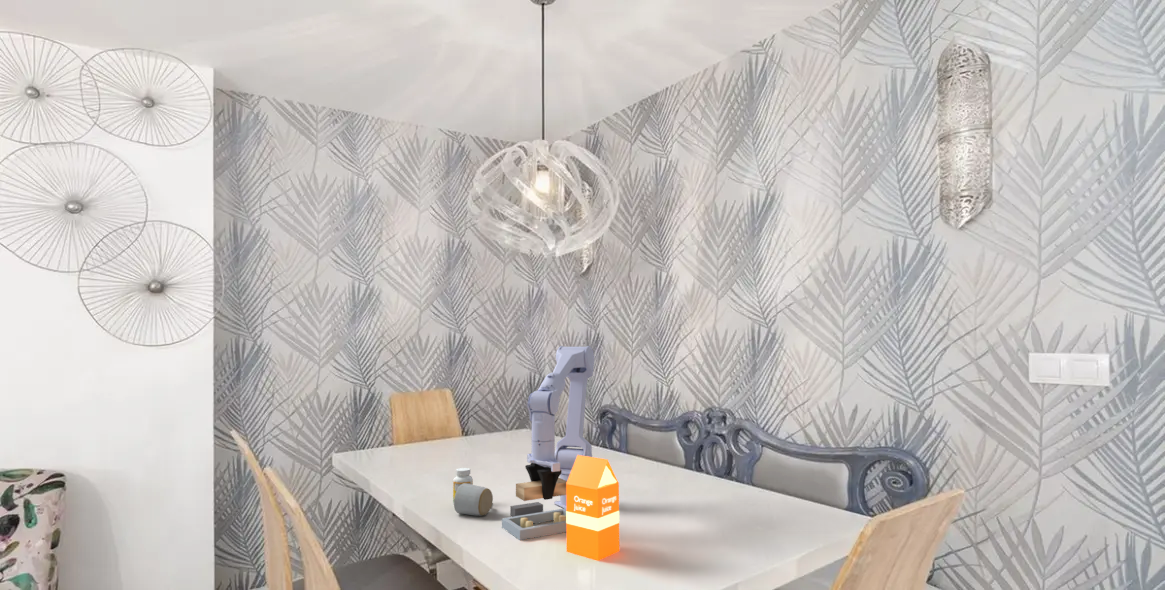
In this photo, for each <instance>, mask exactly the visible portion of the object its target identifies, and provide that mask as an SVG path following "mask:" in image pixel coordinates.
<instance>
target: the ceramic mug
mask: <svg viewBox="0 0 1165 590" xmlns="http://www.w3.org/2000/svg"><path fill="white" fill-rule="evenodd" d="M493 497H494V496H493V492H492V490H491V489H490V488H488V487H486V486H481V485H475V484H473V485H471V484H466V483H464V484H461V485H460V486H459V487H458V489H457V491H456V493H455V497H454V504H453V507H454V510H455V512H456V513H457V514H461V515H469V516H474V517H475V516H476V517H484V516H486V515H488V513H490V510H491V509H493V505H494V501H493V499H494V498H493Z"/></svg>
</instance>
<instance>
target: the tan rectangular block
mask: <svg viewBox="0 0 1165 590" xmlns="http://www.w3.org/2000/svg"><path fill="white" fill-rule="evenodd" d="M566 483H567V481H565V480H563V479H561V478H560V477H559V478H558V480H557V483H556V486H555V490H554V494H553V498H554V497H560V496H562V495H566ZM515 497H516V498H518V499H520V500H521V501H524V502H526V501H533V500H534V501H535V500H540V499H544V498H543V492H542V484H541V481H533V482H531V481H528V482H527V481H526V482H518V483H515Z"/></svg>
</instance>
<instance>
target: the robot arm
mask: <svg viewBox="0 0 1165 590" xmlns="http://www.w3.org/2000/svg"><path fill="white" fill-rule="evenodd" d="M555 361H556V364H555V366H554V368H553V371H552V372H550V373H548V374H546V376H545V377H544V379H543V380H542V382H541V384H540V386H539V387H538V389H537V390H535V391H533V392H531V393H530V394H528V395H529V396H528V399H527V411H528V414H529V416H528V417H529V421H530V422H531V453H526V455H527V457H526V462H527V463H529V464H527V465H525V467H524V468H525V470H526V471H527V474H528V476H529V479H530V482H533V481H541V484H542V492H543V498H542V499H543V500H546V501H547V500H552V499H553V498H554V497H553V494H554V490H555V486H556V483H557V480H558V478H561V479H563V480H565V481H567V480H568V478H569V475H570V473H571V470H572V468H573V465H574V463H575V460H576V457H577V455H581V456H588V457H593V453H592V452H593V449H592V444H591V443H590V441H588V440H587V439H586V438H585V437H584V424H585V423H584V422H585V412H586V402H587V401H586V397H587V386H588V379H590V378H591V377H593V373H594V369H595V368H594V367H595V366H594V365H595V353H594V350H593V348H592V347H591V345H587V346H564V345H560V346H559V347H558V348H557V349H556V354H555ZM567 378H568V379H569V381H570V382H569V392H568V404H567V415H566V427H565V436H563V437H562V438H561V439H560V440H558V441H557V442H556V441H555V438H556V437H555V435H556V433H555V429H556V427H555V424H556V421H555V419H556V414H557V412H558V411H559V407H560V406H559V405H560V403H561V402H560V401H561V399H560V397H561V395H562V393H563V391H564V390H565V388H566V385H567V384H566V383H567V382H566V379H567ZM555 442H556V443H555ZM554 505H556V506H559V507H560V508H561V509H564V508H565V509H566V495H562V496H559V500H558V501H554Z"/></svg>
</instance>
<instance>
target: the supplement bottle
mask: <svg viewBox="0 0 1165 590" xmlns="http://www.w3.org/2000/svg"><path fill="white" fill-rule="evenodd" d="M455 475H456V476H455V477H454V478H453V479H452V480H453V481H452V482H453V486H452V488H453V489H452V490H453V491H452V493H453V494H452V504H453V505H454V497H455V493H456V491H457V489H458V487H459V486H460V485H461V484H464V483H466V484H471V485H474V482H473V481H474V480H473V476H472V475H471V468H469V467H460V468H456V469H455Z"/></svg>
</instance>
